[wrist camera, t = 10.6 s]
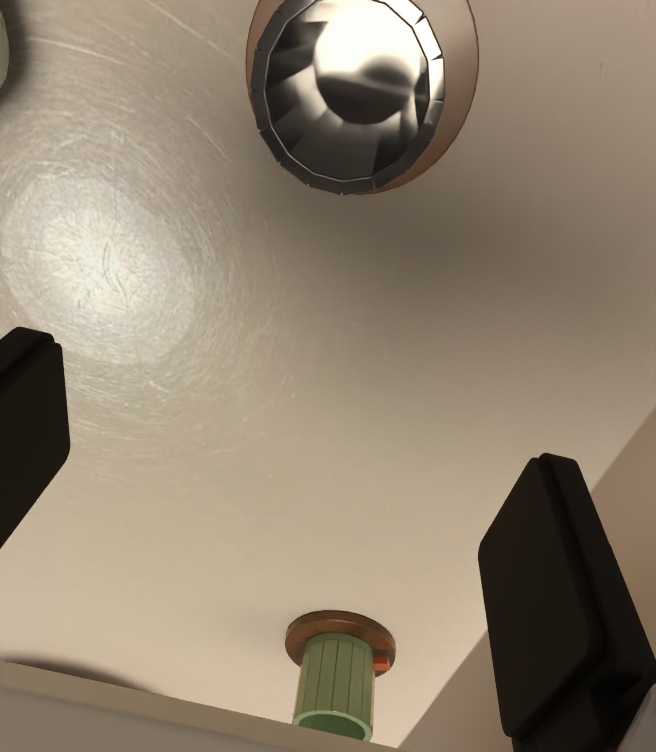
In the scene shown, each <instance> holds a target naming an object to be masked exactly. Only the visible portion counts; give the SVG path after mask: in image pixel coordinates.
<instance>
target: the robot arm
mask: <svg viewBox="0 0 656 752" xmlns="http://www.w3.org/2000/svg"><path fill="white" fill-rule="evenodd" d="M69 451H70V435H69V423H68V412H67V400H66V389H65V377H64V365H63V354H62V347H61V345H60V344H58V343H55V341H54V338H53V336H52V335H51V334H49V333H45V332H41V331H37V330H33V329H29V328H25V327H16V328H14V329H13V330H12V331H10V332H9V333H8V334H7V335H5V336H4V337H3V338H2V339H0V549H1V547H2V546H3V545H4V543H5V542H6V541H7V539H8V538H9V537H10V535H11V534H12V533H13V531H14V530H15V529H16V527H17V526H18V525H19V523H20V522H21V521H22V519H23V518H24V516H25V515H26V514H27V512H28V511H29V510H30V508H31V507H32V506H33V504H34V503H35V502H36V500H37V499H38V498H39V496H40V495H41V494H42V492H43V491H44V490H45V488H46V487H47V486H48V484H49V483H50V482H51V480H52V479H53V478H54V476H55V475H56V474H57V472H58V471H59V470H60V468H61V467H62V466H63V464H64V463H65V461H66V459H67V457H68V455H69ZM478 562H479V569H480V576H481V583H482V590H483V597H484V604H485V611H486V618H487V625H488V632H489V639H490V646H491V653H492V660H493V668H494V674H495V682H496V688H497V695H498V702H499V710H500V717H501V723H502V728H503V731H504V733H505V734H506V736H508V737H511V738H512V744H513V750H514V752H656V659H655V657H654V654H653V652H652V649H651V647H650V644H649V642H648V639H647V637H646V634H645V631H644V629H643V626H642V624H641V622H640V619H639V617H638V614H637V611H636V609H635V606H634V604H633V601H632V599H631V596H630V593H629V591H628V588H627V586H626V583H625V581H624V578H623V576H622V573H621V571H620V568H619V566H618V563H617V560H616V558H615V555H614V554H613V550H612V548H611V546H610V544H609V542H608V539H607V536H606V534H605V532H604V529H603V526H602V524H601V521H600V519H599V516H598V514H597V511H596V509H595V506H594V504H593V501H592V499H591V496H590V493H589V491H588V488H587V486H586V483H585V481H584V478H583V475H582V473H581V470H580V468H579V465H578V464H577V462H576V461H575V460H573V459H570V458H566V457H562V456H558V455H554V454H549V453H543V454H542V455H540V457H539V458H532V459H530V460H529V462H528V463H527V465H526V467H525V468H524V470H523V472H522V473H521V475H520V477H519V478H518V480H517V482H516V484H515V485H514V487H513V489H512V490H511V492H510V494H509V495H508V497H507V499H506V500H505V502H504V504H503V506H502V507H501V509H500V511H499V512H498V514H497V516H496V517H495V519H494V521H493V522H492V524H491V526H490V527H489V529H488V531H487V533H486V534H485V536H484V538H483V539H482V541H481V543H480V546H479V551H478ZM0 752H411V751H406V750H402V749H398V748H393V747H389V746H384V745H380V744H376V743H371V742H367V741H363V740H358V739H354V738H349V737H345V736H341V735H336V734H332V733H328V732H323V731H319V730H314V729H310V728H306V727H301V726H297V725H292V724H288V723H283V722H279V721H274V720H270V719H266V718H261V717H257V716H252V715H248V714H243V713H239V712H234V711H230V710H225V709H221V708H216V707H212V706H207V705H203V704H198V703H194V702H189V701H185V700H180V699H176V698H171V697H167V696H162V695H158V694H153V693H149V692H144V691H140V690H135V689H131V688H126V687H122V686H117V685H113V684H108V683H104V682H99V681H94V680H90V679H85V678H81V677H76V676H71V675H67V674H62V673H58V672H53V671H48V670H44V669H39V668H35V667H30V666H26V665H21V664H16V663H12V662H7V661H3V660H0Z"/></svg>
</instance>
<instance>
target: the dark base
mask: <svg viewBox="0 0 656 752" xmlns="http://www.w3.org/2000/svg"><path fill="white" fill-rule="evenodd" d="M284 1H285V0H260V1H259V3H258V5H257V7H256V10H255V12H254V16H253V19H252V22H251V26H250V29H249V35H248V41H247V48H246V81H247V87H248V93H249V98H250V102H251V105H252V101H251V96H250V91H252V90H251V89H250V80H251V73H252V65H253V57H254V50H255V49H256V48H257V46H256V44H257V42H258V40H259V38H260V36H261V34H262V33H263V31H264V29H265V27H266V25H267V23H268V21H269V19H270V18H271V16H272V14H273V12H274V11H275V10H278V8H277V7H278V6H279V5H280V4H281V3H282V2H284ZM412 1H413V2H414V3H415V4H416V5H417V6H419V7H420V8H421V9H422V10H423V11H424V15H426V16H427V17H428V19H429V21H430V24H431V26H432V28H433V30H434V33H435V35H436V37H437V39H438V42H439V44H440V46H441V49H442V51H443V55H442V56H443V57H444V59H445V84H446V99H444V100H445V105H444V108H443V111H442V114H441V118H440V121H439V124H438V127H437V130H436V133H435V136H434V138H433V139H431V141H432V142H431V144H430V145H429V147H428V148H427V149H426V150H425V152H424V153H423V154H422V155H421V157H420V158H419V159H418V160H417V162H416V163H415V164H414V166H413V167H412V168H411V169H410V170H407V173H406V174H404V175H403V176H401V177H399V178H397V179H396V180H394V181H392V182H391V183H389V184H387V185H386V186H384V187H382V188H380V189H378V190H377V189H375V191H370V192H363V193H356V195H363V194H375V193H379V192H384V191H388V190H391V189H394V188H397V187H400V186H402V185H404V184H406V183H408V182H410V181H412V180H414V179H415V178H417V177H418V176H420V175H421V174H423V173H424V172H425V171H427V170H428V169H429V168H430V167H431V166H432V165H434V164H435V163H436V162H437V161H438V160H439V159H440V158H441V156H442V155H443V154H444V153H445V152H446V151H447V150H448V148H449V147H450V146H451V144H452V143H453V141H454V140H455V139H456V137H457V135H458V133H459V132H460V130H461V128H462V126H463V124H464V122H465V120H466V118H467V115H468V113H469V110H470V108H471V104H472V101H473V97H474V94H475V90H476V84H477V78H478V68H479V47H478V36H477V30H476V25H475V20H474V17H473V14H472V11H471V8H470V5H469V2H468V0H412ZM252 109H253V105H252ZM253 112H254V110H253ZM261 130H262V129H261Z"/></svg>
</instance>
